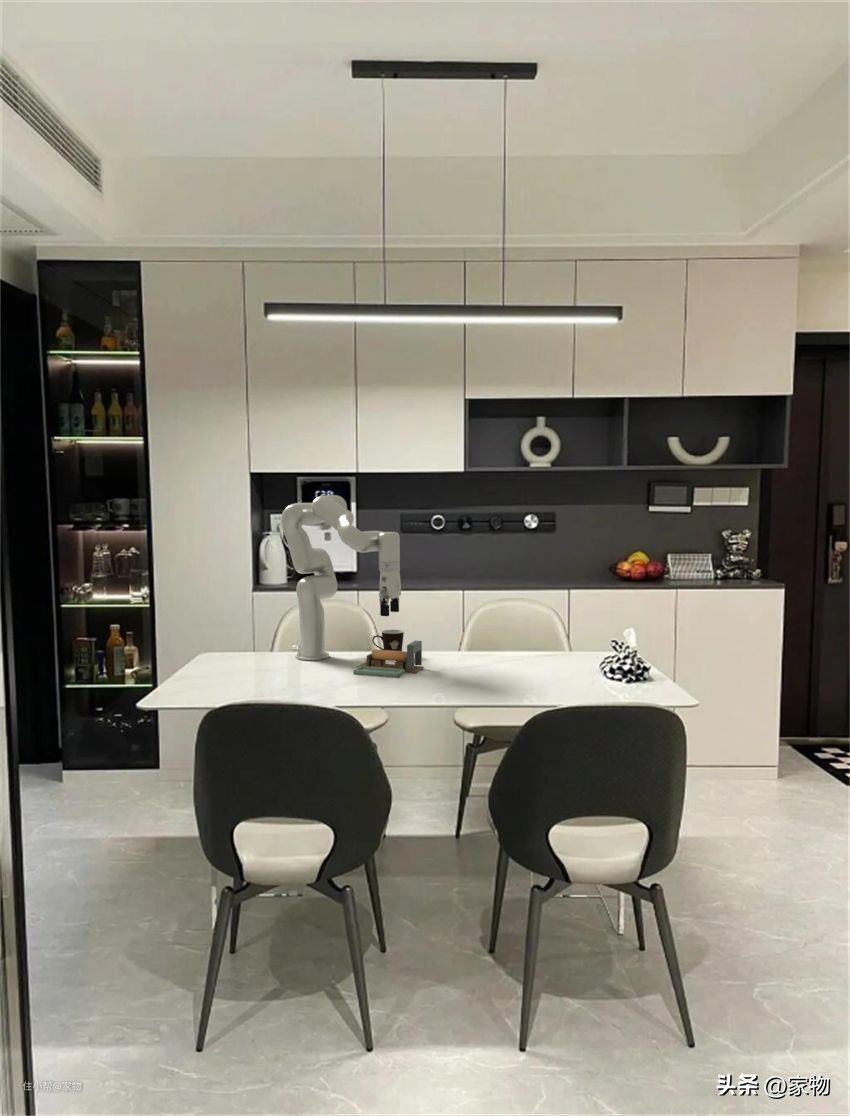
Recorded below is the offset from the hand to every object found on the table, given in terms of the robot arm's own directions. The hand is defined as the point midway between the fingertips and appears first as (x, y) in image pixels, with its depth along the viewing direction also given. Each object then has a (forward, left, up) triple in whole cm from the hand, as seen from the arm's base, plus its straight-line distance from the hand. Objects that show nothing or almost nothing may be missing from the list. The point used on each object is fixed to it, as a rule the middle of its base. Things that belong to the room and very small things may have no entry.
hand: (389, 613), depth 282 cm
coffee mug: (-8, +19, -20) cm, 29 cm away
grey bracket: (+9, 0, -19) cm, 21 cm away
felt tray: (-1, -8, -20) cm, 22 cm away
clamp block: (0, 0, -20) cm, 20 cm away
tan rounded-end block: (0, 0, -17) cm, 17 cm away
